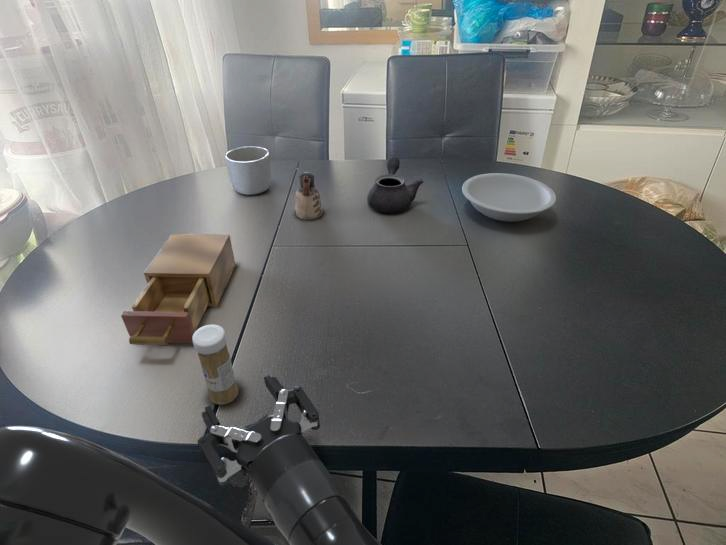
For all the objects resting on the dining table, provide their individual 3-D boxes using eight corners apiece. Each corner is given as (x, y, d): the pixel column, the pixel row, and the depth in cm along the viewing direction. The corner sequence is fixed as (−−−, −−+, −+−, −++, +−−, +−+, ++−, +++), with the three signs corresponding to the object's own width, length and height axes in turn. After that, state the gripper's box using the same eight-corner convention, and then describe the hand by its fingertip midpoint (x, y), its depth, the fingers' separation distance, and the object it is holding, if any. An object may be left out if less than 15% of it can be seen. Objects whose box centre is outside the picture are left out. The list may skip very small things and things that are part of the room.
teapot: (425, 215, 121) (428, 180, 115) (368, 216, 120) (368, 182, 114) (414, 185, 136) (417, 153, 130) (364, 186, 135) (364, 154, 129)
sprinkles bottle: (204, 397, 71) (184, 336, 64) (225, 379, 74) (209, 319, 67) (223, 411, 69) (206, 349, 61) (245, 391, 72) (231, 330, 65)
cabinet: (216, 306, 90) (208, 274, 85) (155, 305, 90) (143, 273, 85) (235, 265, 101) (229, 234, 97) (181, 264, 102) (172, 233, 97)
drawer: (186, 360, 77) (177, 333, 73) (120, 359, 77) (108, 332, 73) (216, 295, 91) (210, 270, 87) (161, 294, 91) (152, 269, 88)
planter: (237, 201, 127) (230, 165, 121) (226, 185, 136) (220, 150, 129) (279, 193, 132) (274, 157, 125) (266, 177, 141) (261, 143, 134)
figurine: (324, 208, 124) (322, 167, 117) (319, 221, 118) (317, 178, 111) (299, 207, 124) (295, 166, 117) (293, 219, 119) (289, 177, 112)
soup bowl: (467, 188, 134) (470, 168, 130) (551, 201, 127) (557, 179, 123) (451, 226, 116) (454, 203, 112) (548, 243, 109) (555, 219, 105)
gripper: (348, 434, 51) (281, 351, 62) (231, 508, 45) (179, 401, 55) (349, 470, 56) (287, 387, 66) (243, 542, 49) (192, 437, 60)
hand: (238, 394), depth 61 cm, fingers open, 8 cm apart
